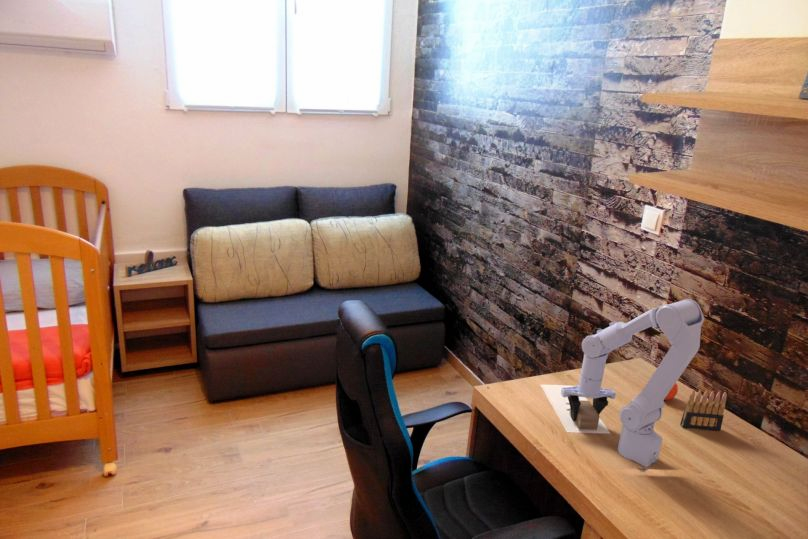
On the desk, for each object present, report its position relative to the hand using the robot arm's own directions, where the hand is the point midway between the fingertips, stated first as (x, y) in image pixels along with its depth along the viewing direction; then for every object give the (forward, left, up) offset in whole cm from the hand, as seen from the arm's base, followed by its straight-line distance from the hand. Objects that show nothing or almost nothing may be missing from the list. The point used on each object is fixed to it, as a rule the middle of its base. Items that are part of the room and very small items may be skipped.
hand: (583, 419), depth 167 cm
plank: (+6, -5, -2) cm, 8 cm away
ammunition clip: (-21, -28, -2) cm, 35 cm away
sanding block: (0, 0, -1) cm, 1 cm away
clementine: (-6, -36, -2) cm, 37 cm away
